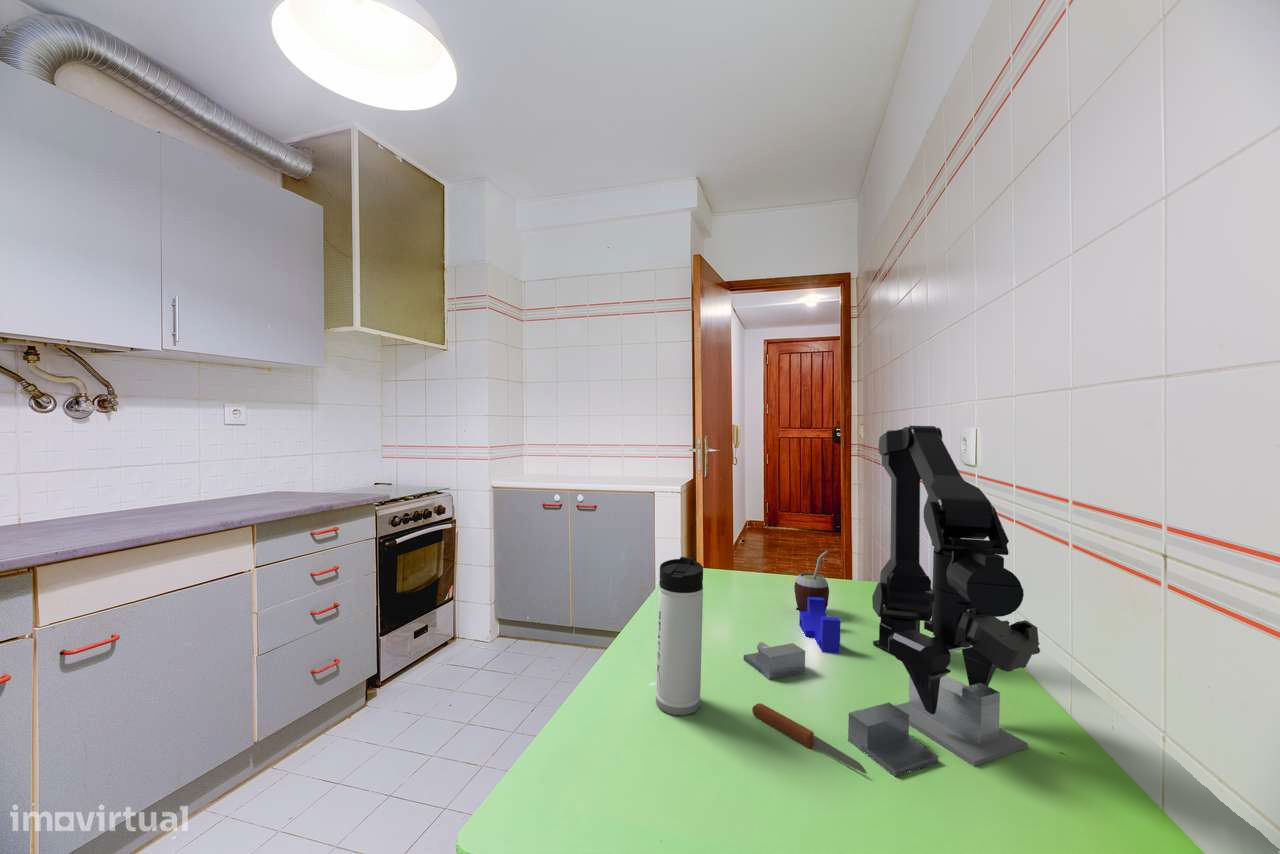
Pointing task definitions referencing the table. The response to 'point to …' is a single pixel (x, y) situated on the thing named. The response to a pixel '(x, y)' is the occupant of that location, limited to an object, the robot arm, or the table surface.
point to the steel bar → (964, 709)
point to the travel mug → (679, 636)
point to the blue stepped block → (820, 625)
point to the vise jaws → (856, 716)
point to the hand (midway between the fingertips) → (954, 705)
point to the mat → (962, 739)
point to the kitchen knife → (801, 734)
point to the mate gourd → (811, 587)
